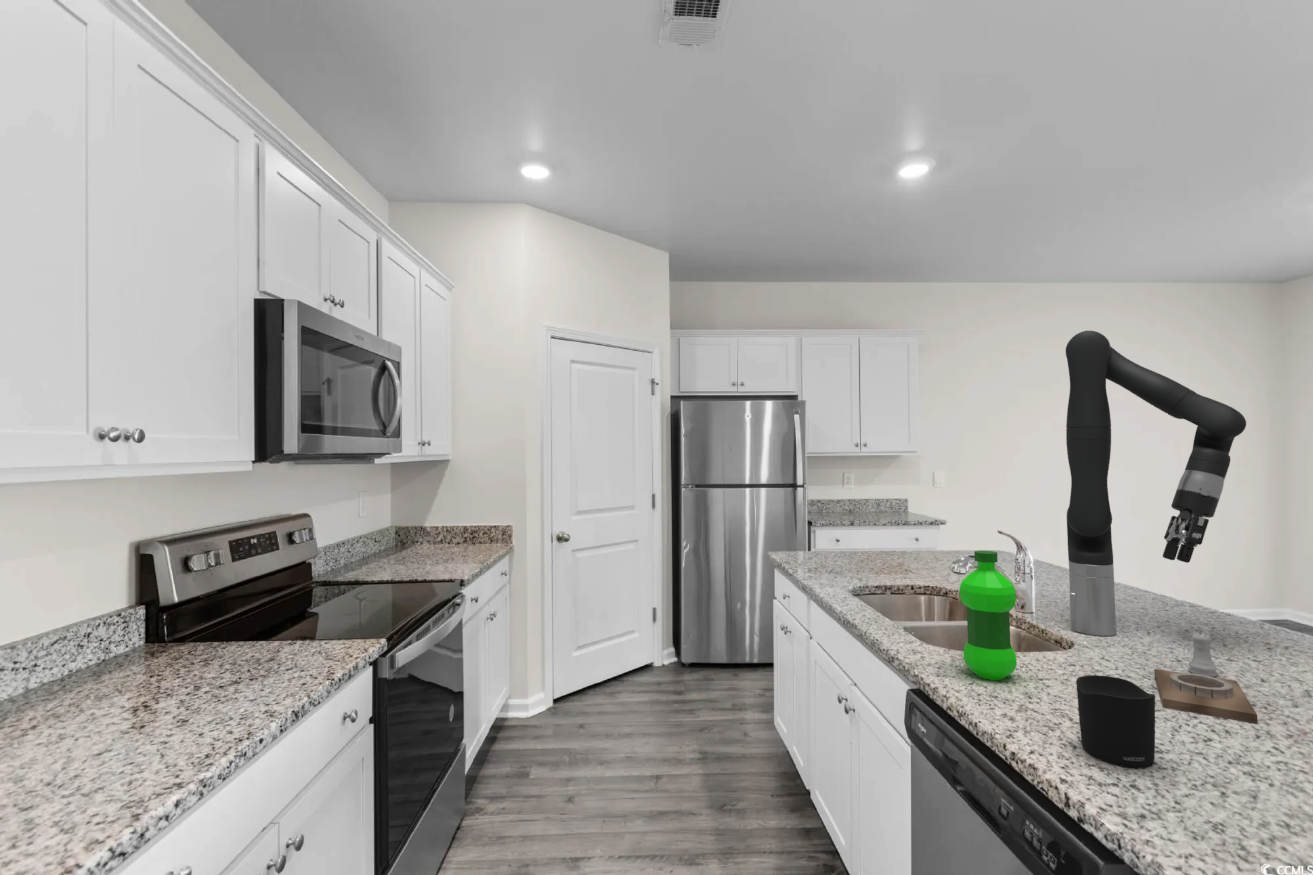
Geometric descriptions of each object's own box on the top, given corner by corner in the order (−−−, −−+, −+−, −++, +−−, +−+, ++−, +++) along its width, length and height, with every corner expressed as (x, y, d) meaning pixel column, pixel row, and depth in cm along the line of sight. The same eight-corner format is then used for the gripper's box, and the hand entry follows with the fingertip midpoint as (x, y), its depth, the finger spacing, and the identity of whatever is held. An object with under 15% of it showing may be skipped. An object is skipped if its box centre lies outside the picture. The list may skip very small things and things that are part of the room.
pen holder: (1072, 754, 91) (1069, 687, 91) (1086, 733, 97) (1083, 670, 98) (1153, 777, 84) (1150, 704, 84) (1161, 753, 90) (1158, 685, 91)
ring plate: (1162, 707, 107) (1162, 689, 107) (1154, 676, 121) (1154, 661, 121) (1257, 723, 100) (1256, 705, 100) (1236, 688, 114) (1236, 672, 114)
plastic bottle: (955, 665, 129) (951, 548, 130) (1009, 668, 127) (1005, 548, 128) (969, 682, 119) (965, 555, 120) (1028, 686, 117) (1023, 556, 118)
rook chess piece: (1212, 671, 123) (1210, 631, 124) (1222, 678, 119) (1220, 638, 120) (1184, 668, 125) (1183, 629, 125) (1193, 675, 121) (1191, 635, 121)
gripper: (1166, 489, 147) (1144, 552, 147) (1190, 486, 134) (1167, 555, 134) (1204, 499, 144) (1182, 564, 144) (1233, 497, 131) (1209, 568, 131)
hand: (1175, 560), depth 139 cm, fingers open, 8 cm apart
